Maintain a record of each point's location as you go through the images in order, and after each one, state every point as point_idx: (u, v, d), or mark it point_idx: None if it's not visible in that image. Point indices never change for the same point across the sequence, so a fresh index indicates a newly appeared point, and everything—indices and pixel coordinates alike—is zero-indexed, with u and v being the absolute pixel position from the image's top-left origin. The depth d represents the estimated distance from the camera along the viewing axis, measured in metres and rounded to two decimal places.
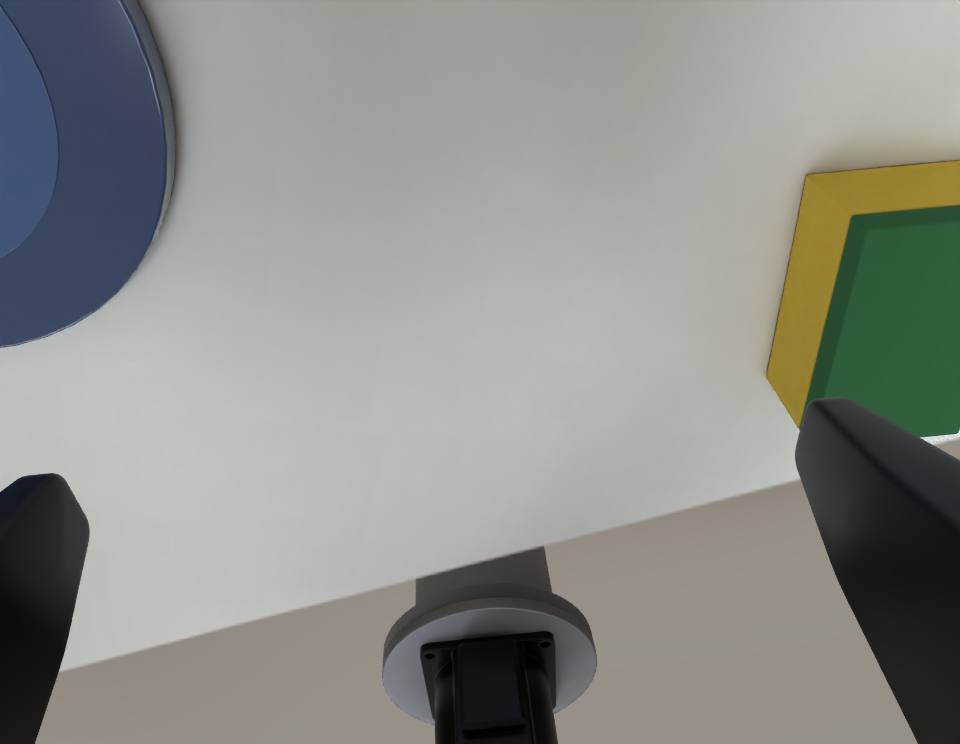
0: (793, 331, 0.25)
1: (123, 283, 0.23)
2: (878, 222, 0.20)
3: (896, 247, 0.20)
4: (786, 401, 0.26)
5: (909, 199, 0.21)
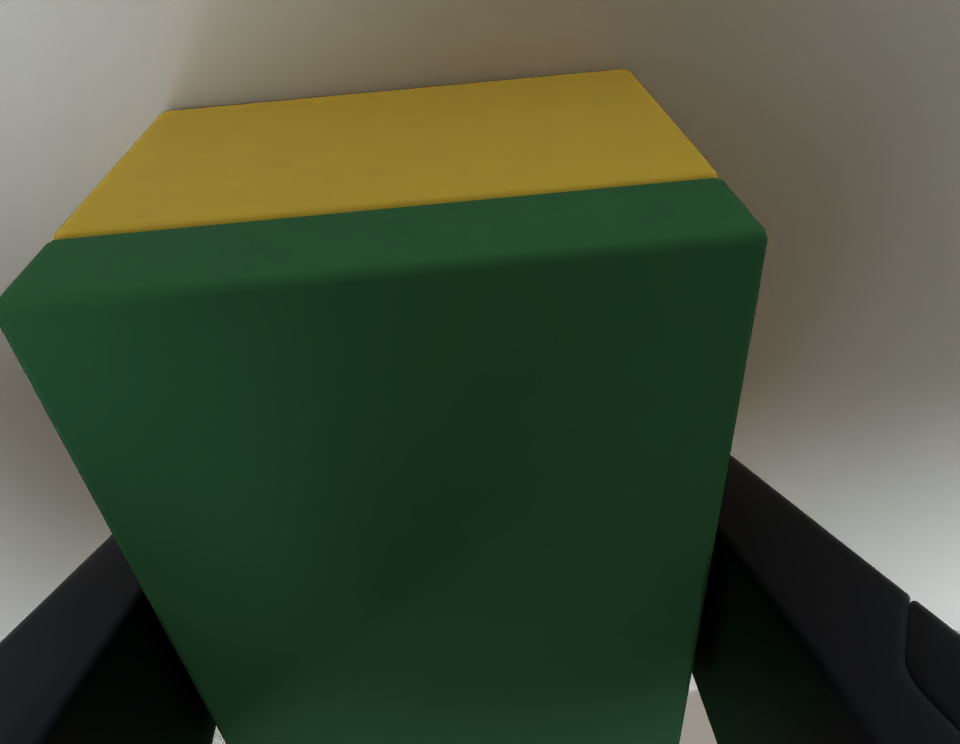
0: None
1: None
2: (76, 272, 0.05)
3: (166, 372, 0.05)
4: None
5: (323, 180, 0.06)
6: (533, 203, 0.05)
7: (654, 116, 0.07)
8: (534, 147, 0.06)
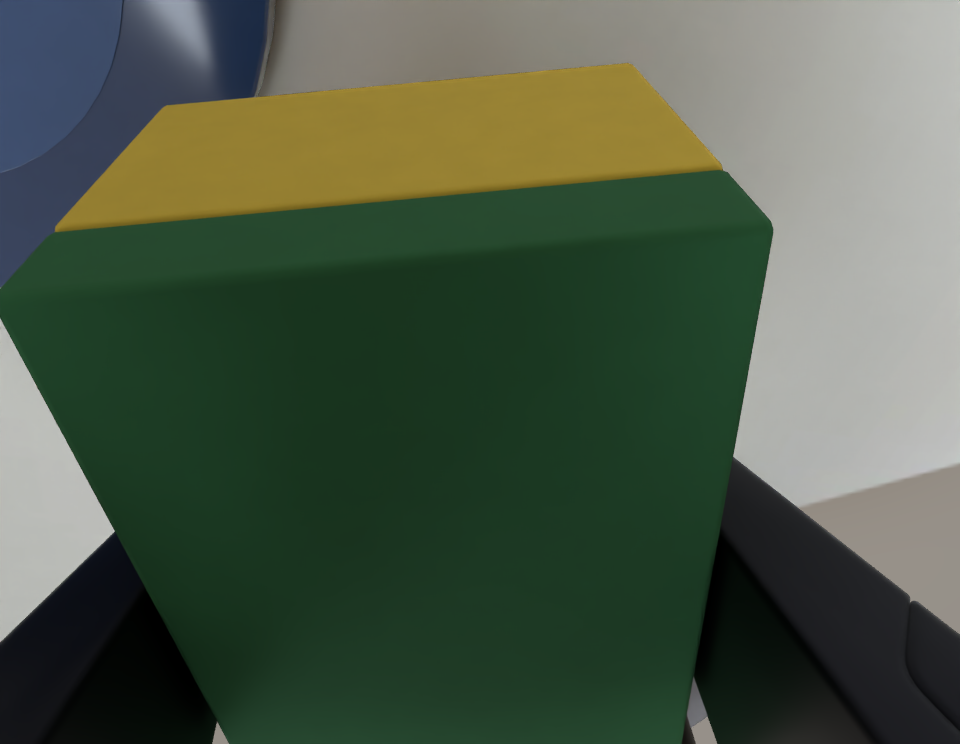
0: None
1: None
2: (78, 264, 0.05)
3: (168, 365, 0.05)
4: None
5: (326, 172, 0.06)
6: (537, 195, 0.05)
7: (658, 109, 0.07)
8: (537, 140, 0.06)
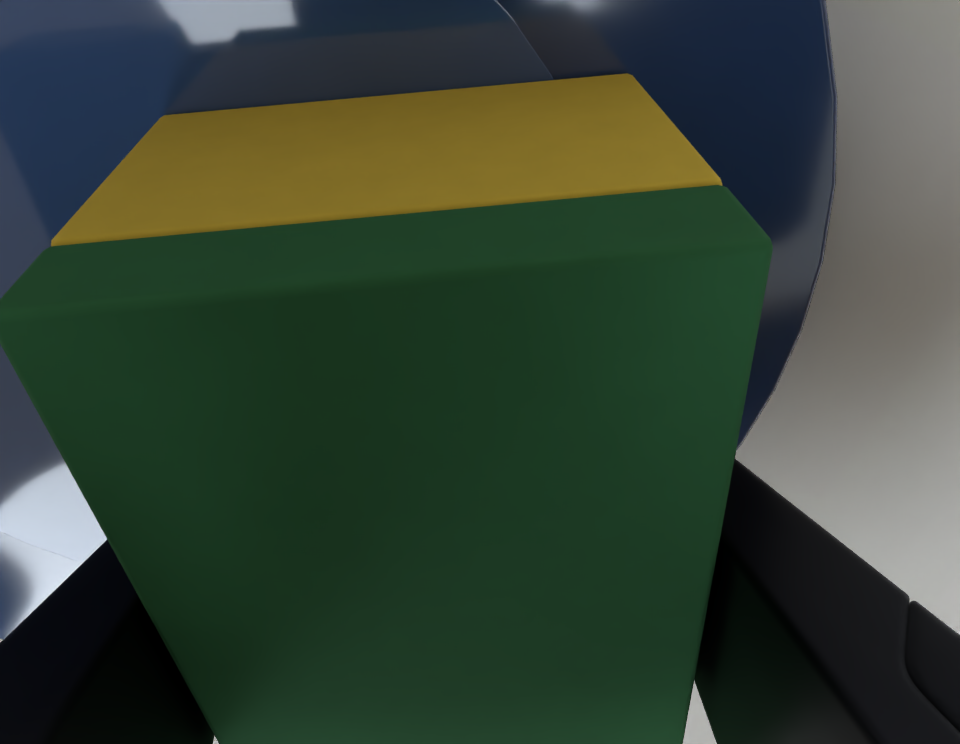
0: None
1: None
2: (74, 280, 0.05)
3: (164, 381, 0.05)
4: None
5: (324, 186, 0.06)
6: (536, 210, 0.05)
7: (657, 122, 0.07)
8: (535, 152, 0.06)
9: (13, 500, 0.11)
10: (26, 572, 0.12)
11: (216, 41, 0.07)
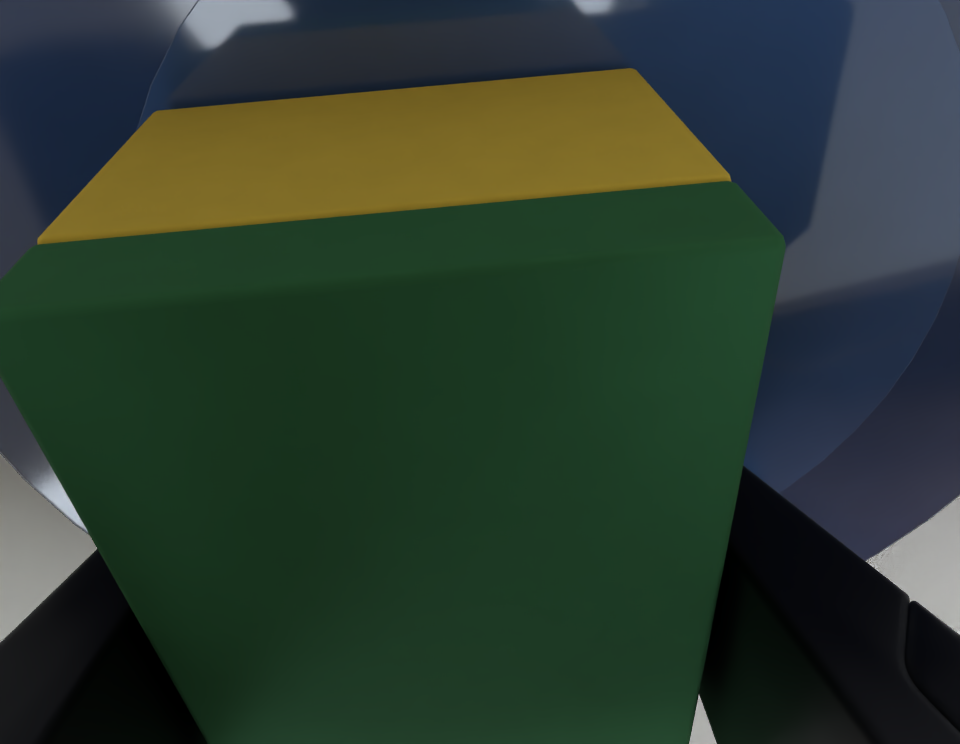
0: None
1: None
2: (58, 278, 0.05)
3: (153, 384, 0.05)
4: None
5: (319, 182, 0.06)
6: (539, 207, 0.05)
7: (662, 116, 0.06)
8: (538, 148, 0.06)
9: None
10: None
11: (660, 35, 0.08)
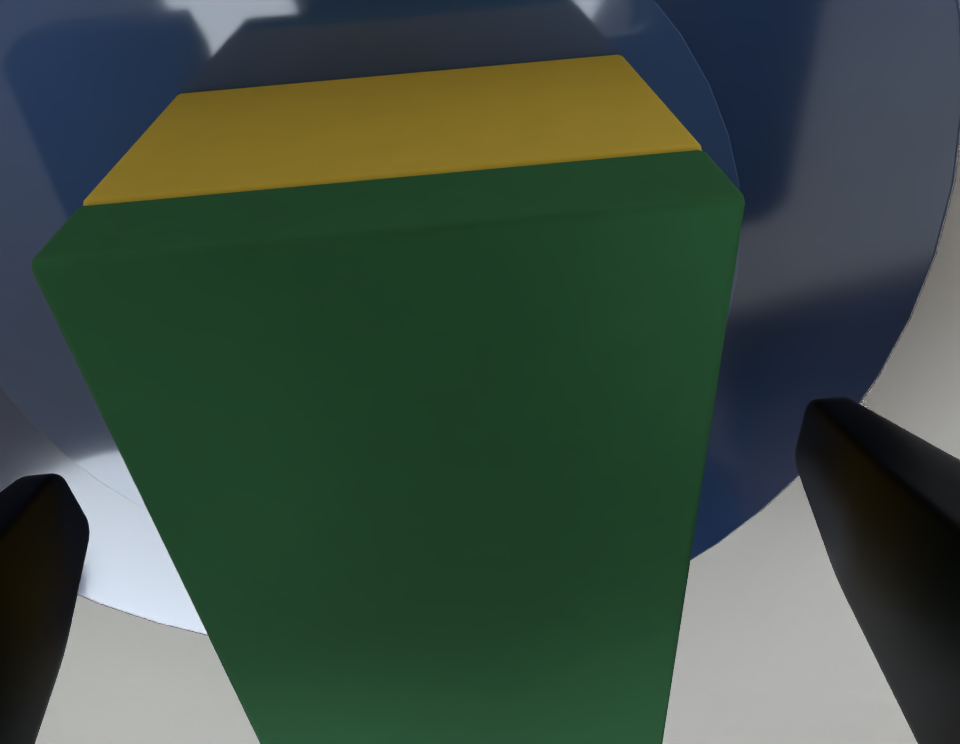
0: None
1: None
2: (106, 234, 0.05)
3: (189, 327, 0.05)
4: None
5: (333, 153, 0.06)
6: (529, 172, 0.06)
7: (644, 96, 0.07)
8: (530, 125, 0.07)
9: None
10: None
11: (412, 55, 0.08)
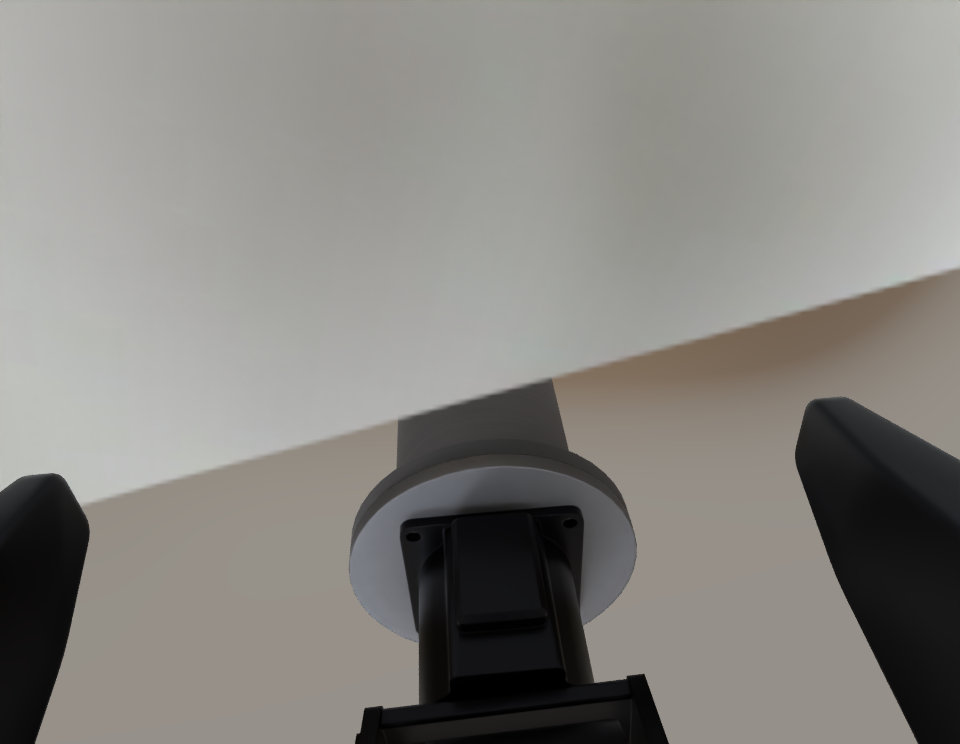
0: None
1: None
2: None
3: None
4: None
5: None
6: None
7: None
8: None
9: None
10: None
11: None
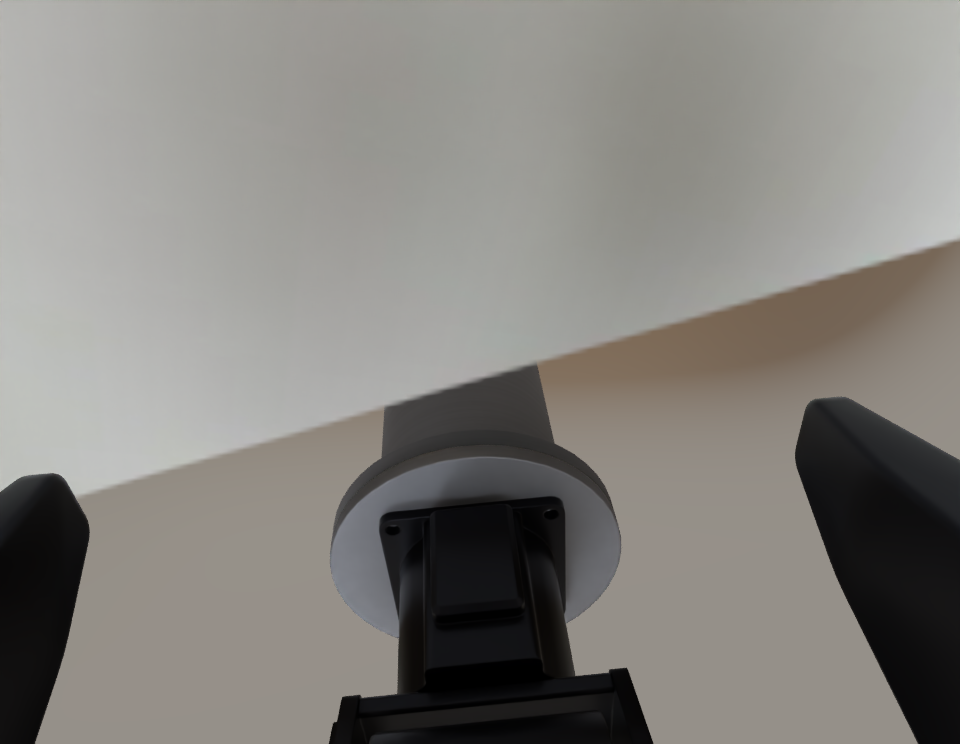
0: None
1: None
2: None
3: None
4: None
5: None
6: None
7: None
8: None
9: None
10: None
11: None
